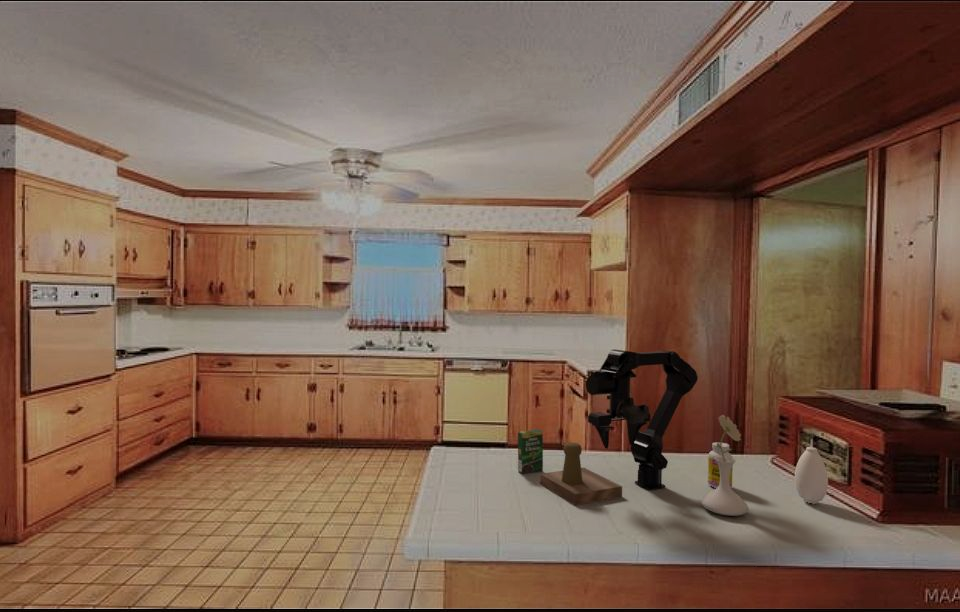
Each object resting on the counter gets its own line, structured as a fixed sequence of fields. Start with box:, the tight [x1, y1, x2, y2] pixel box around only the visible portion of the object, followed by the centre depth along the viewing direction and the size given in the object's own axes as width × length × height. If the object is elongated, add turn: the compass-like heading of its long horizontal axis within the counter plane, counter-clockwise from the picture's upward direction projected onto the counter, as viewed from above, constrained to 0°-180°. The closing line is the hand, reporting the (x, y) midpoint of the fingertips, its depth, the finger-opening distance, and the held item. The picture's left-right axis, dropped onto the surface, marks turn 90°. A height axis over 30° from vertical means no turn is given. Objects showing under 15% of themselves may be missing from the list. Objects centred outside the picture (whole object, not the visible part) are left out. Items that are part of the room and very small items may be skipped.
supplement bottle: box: [707, 441, 734, 489], centre depth 155 cm, size 7×7×13 cm
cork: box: [562, 441, 583, 485], centre depth 149 cm, size 6×6×11 cm
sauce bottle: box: [794, 438, 829, 505], centre depth 143 cm, size 8×8×18 cm
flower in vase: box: [700, 414, 749, 517], centre depth 137 cm, size 13×11×25 cm
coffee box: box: [517, 429, 544, 474], centre depth 167 cm, size 8×3×13 cm, turn 113°
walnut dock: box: [539, 467, 623, 506], centre depth 151 cm, size 16×18×3 cm
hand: (619, 446), depth 150 cm, fingers open, 9 cm apart
